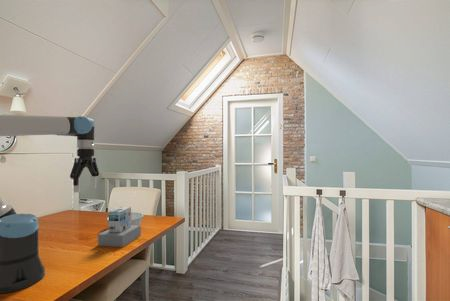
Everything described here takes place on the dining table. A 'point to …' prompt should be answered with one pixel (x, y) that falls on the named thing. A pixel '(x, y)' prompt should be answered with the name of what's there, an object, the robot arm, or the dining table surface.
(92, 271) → the dining table surface
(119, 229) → the light bulb box
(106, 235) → the grey block
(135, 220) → the serving bowl
